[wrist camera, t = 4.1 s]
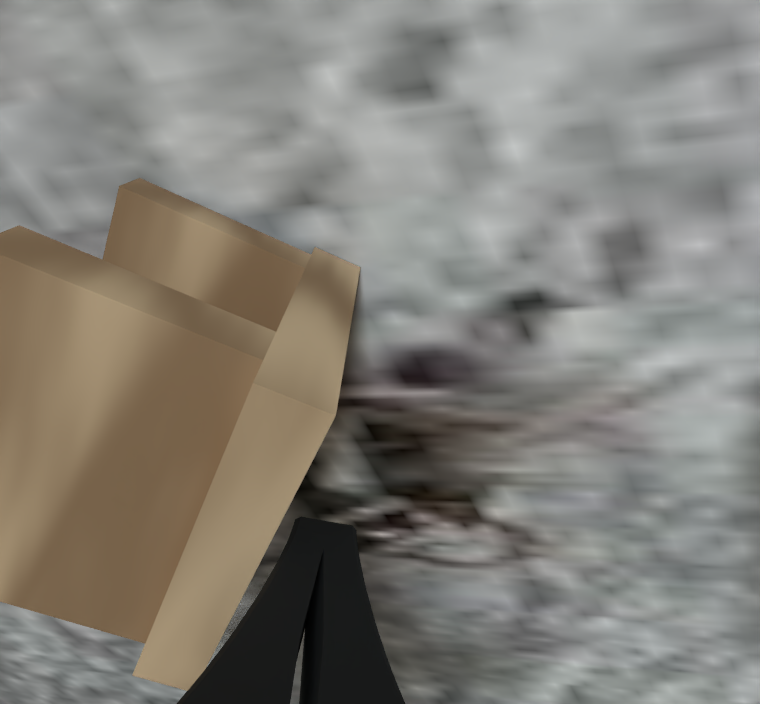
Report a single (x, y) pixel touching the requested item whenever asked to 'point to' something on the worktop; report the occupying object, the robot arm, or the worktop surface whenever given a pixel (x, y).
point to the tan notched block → (159, 417)
